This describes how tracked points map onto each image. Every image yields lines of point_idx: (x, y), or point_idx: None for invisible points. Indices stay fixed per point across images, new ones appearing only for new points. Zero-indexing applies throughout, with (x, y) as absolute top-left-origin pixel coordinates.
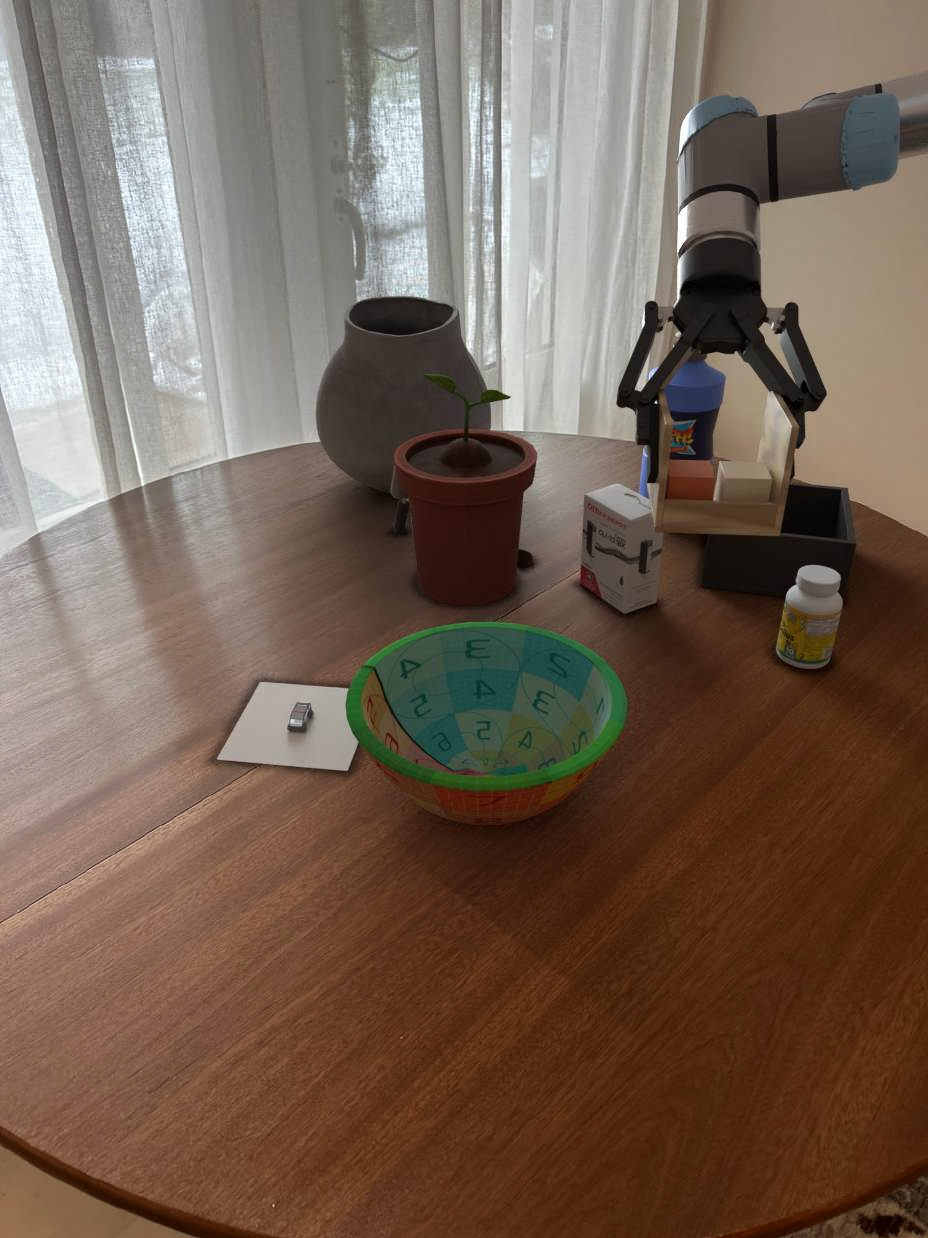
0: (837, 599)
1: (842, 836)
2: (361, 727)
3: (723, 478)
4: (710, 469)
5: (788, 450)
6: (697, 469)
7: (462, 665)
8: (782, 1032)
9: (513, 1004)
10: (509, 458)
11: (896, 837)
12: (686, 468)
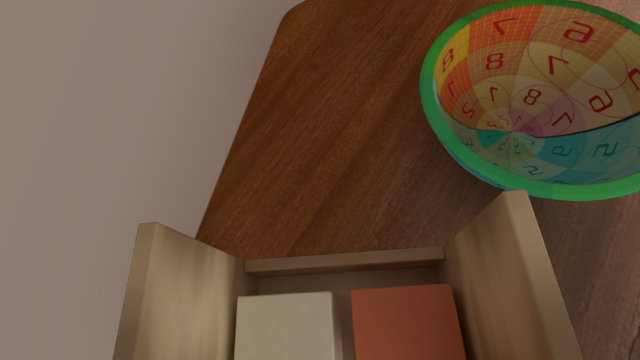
0: None
1: (271, 144)
2: (633, 25)
3: (332, 313)
4: (360, 339)
5: (191, 238)
6: (390, 335)
7: (596, 179)
8: (323, 36)
9: (439, 20)
10: None
11: (240, 150)
12: (416, 340)
